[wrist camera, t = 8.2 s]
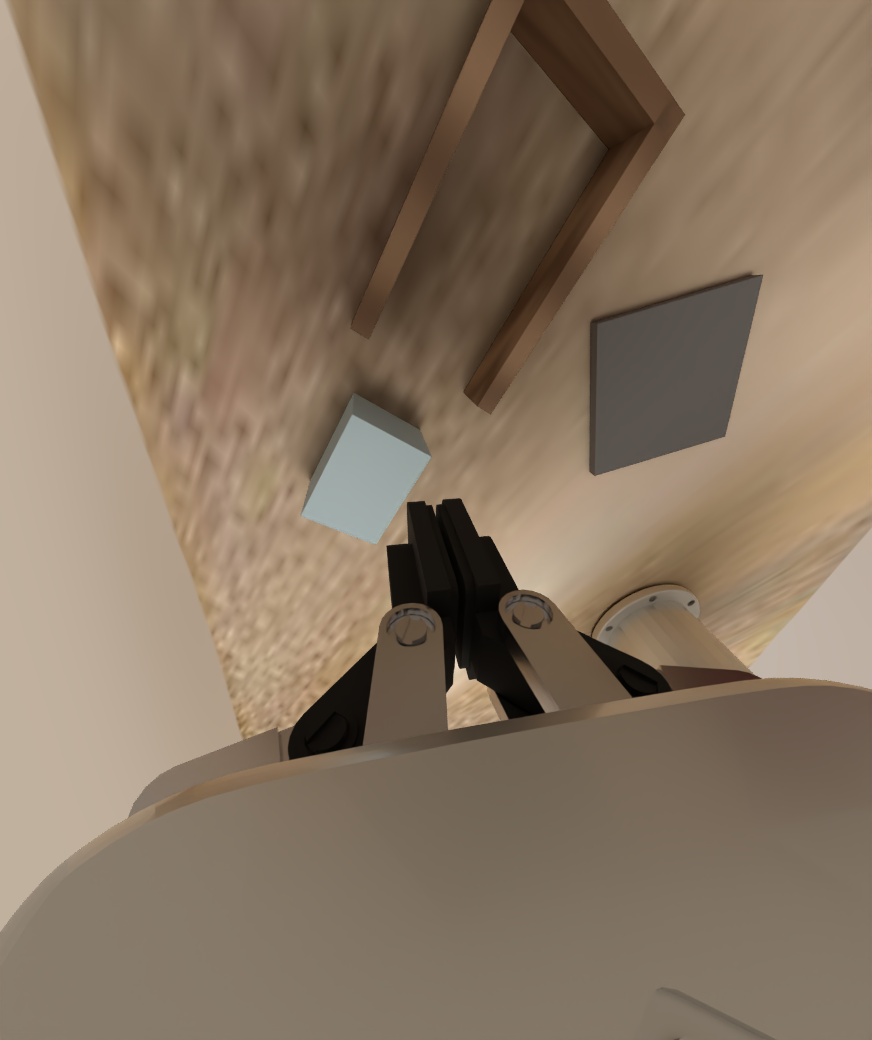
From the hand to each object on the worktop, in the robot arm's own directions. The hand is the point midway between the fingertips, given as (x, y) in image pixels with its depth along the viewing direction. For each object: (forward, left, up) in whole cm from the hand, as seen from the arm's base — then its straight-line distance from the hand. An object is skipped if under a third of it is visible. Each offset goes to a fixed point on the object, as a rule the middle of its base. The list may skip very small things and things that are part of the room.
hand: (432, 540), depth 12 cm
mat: (-4, -19, -15) cm, 25 cm away
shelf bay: (+7, -7, -15) cm, 18 cm away
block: (-2, +3, -15) cm, 16 cm away
